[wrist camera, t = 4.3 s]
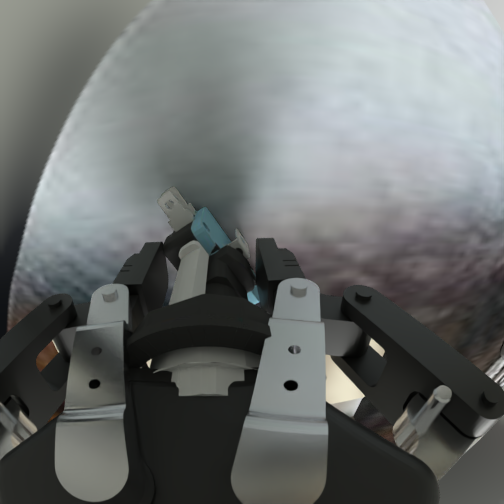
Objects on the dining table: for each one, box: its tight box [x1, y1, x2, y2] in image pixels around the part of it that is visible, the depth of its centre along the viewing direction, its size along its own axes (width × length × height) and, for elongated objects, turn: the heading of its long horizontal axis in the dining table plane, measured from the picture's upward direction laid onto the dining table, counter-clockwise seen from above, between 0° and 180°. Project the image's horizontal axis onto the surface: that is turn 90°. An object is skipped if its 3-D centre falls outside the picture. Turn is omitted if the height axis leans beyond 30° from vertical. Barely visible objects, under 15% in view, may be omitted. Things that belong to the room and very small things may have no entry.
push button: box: [126, 187, 272, 396], centre depth 10 cm, size 7×5×10 cm
